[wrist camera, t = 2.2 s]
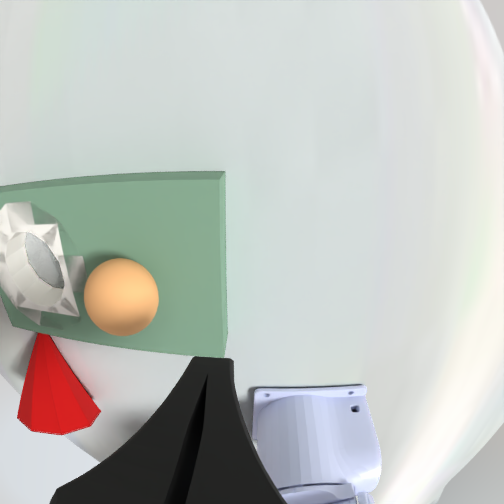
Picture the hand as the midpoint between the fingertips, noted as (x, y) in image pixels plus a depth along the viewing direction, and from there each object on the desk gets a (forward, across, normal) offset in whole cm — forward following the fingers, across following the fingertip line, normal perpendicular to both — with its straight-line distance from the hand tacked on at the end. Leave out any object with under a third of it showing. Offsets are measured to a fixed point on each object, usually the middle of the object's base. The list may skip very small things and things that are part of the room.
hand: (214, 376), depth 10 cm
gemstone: (+10, +18, +12) cm, 23 cm away
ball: (+5, +6, 0) cm, 7 cm away
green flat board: (+9, +10, 0) cm, 13 cm away
